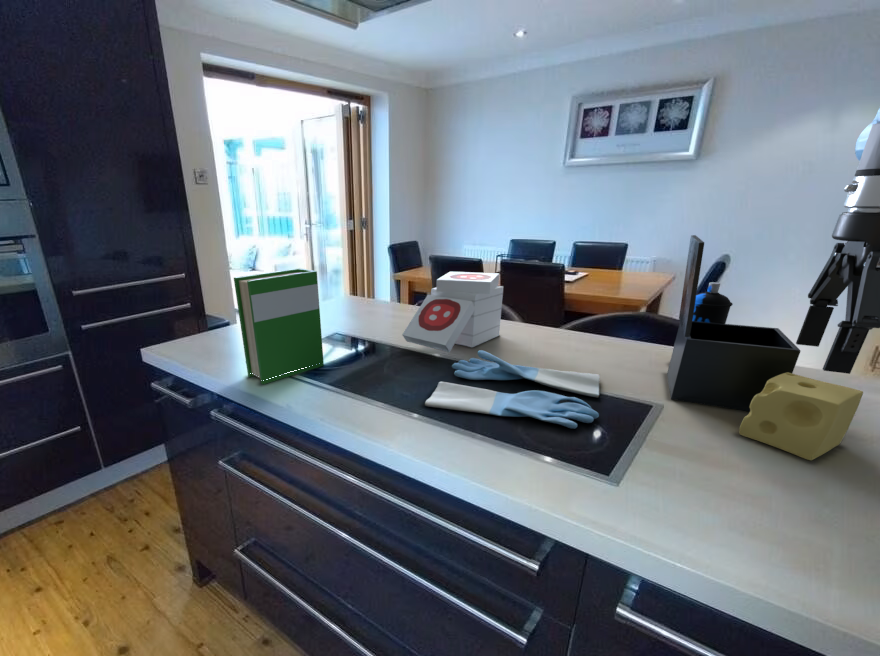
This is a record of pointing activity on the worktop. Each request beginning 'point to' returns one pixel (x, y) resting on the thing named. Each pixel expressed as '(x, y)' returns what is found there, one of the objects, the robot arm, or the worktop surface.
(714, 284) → the aerosol can
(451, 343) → the pizza boxes
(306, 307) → the hardback book
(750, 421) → the cheese
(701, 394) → the bin
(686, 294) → the bin lid
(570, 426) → the rubber gloves
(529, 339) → the worktop surface
